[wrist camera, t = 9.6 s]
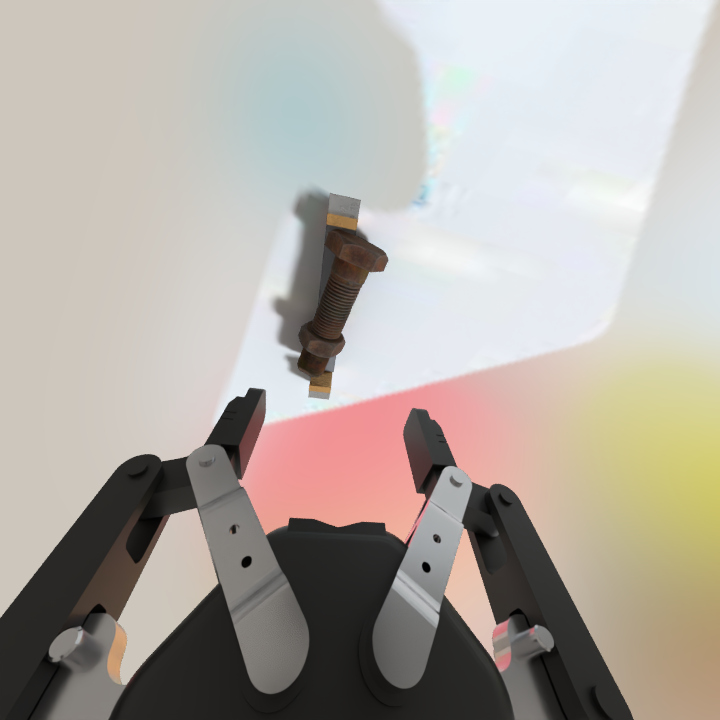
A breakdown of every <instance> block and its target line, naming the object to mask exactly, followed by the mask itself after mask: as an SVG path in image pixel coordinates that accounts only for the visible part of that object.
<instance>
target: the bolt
mask: <svg viewBox="0 0 720 720" xmlns="http://www.w3.org/2000/svg"><path fill="white" fill-rule="evenodd" d="M324 245H325V246H326V247H327V248H328V249H329V250H330V251H332V252H333V253H334V254H335V258H334V261H333V264H332V267H331V273H330V275H329V276H330V277H329V278H328V279H329V280H328V281H327V284H326V287H325V290H324V293H323V294H322V297H321V300H320V303H319V305H318V308H317V311H316V314H315V317H314V320H313V321H310V322H308V323H306V324H304V325H303V326H302V327H301V330H300V332H299V339H300V342H301V344H302V346H303V350H302V352H301V355H300V358H299V360H298V363H297V364H298V369H299V370H300V371H302V372H304V373H305V374H307V375H309V376H311V377H320V375H323V373H324V371H325V368H326V366H327V363H328V361H329V359H330V358H331V357H334V356H336V355H337V354H339V353H340V352H341V351H342V349H343V347H344V345H345V340H344V337H343V335H342V333H341V332H342V329H343V327H344V325H345V323H346V320H347V318H348V315H349V314H350V312H351V309H352V306H353V303H354V302H355V300H356V298H357V295H358V294H359V291H360V288H361V287H362V285H363V284H364V282H365V280H366V278H367V276H368V273H369V272H382V271H384V269H385V266H386V264H387V262H388V257H387V255H386V253H385V252H384V251H383V250H381V249H380V248H378V247H376V246H375V245H373V244H371V243H369V242H367V241H365V240H364V239H362V238H360V237H357V236H355V235H353V234H350V233H348V232H345V231H342V230H340V229H335V230H332V231H330V232H328V235H327V238H326V241H325V244H324Z"/></svg>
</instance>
